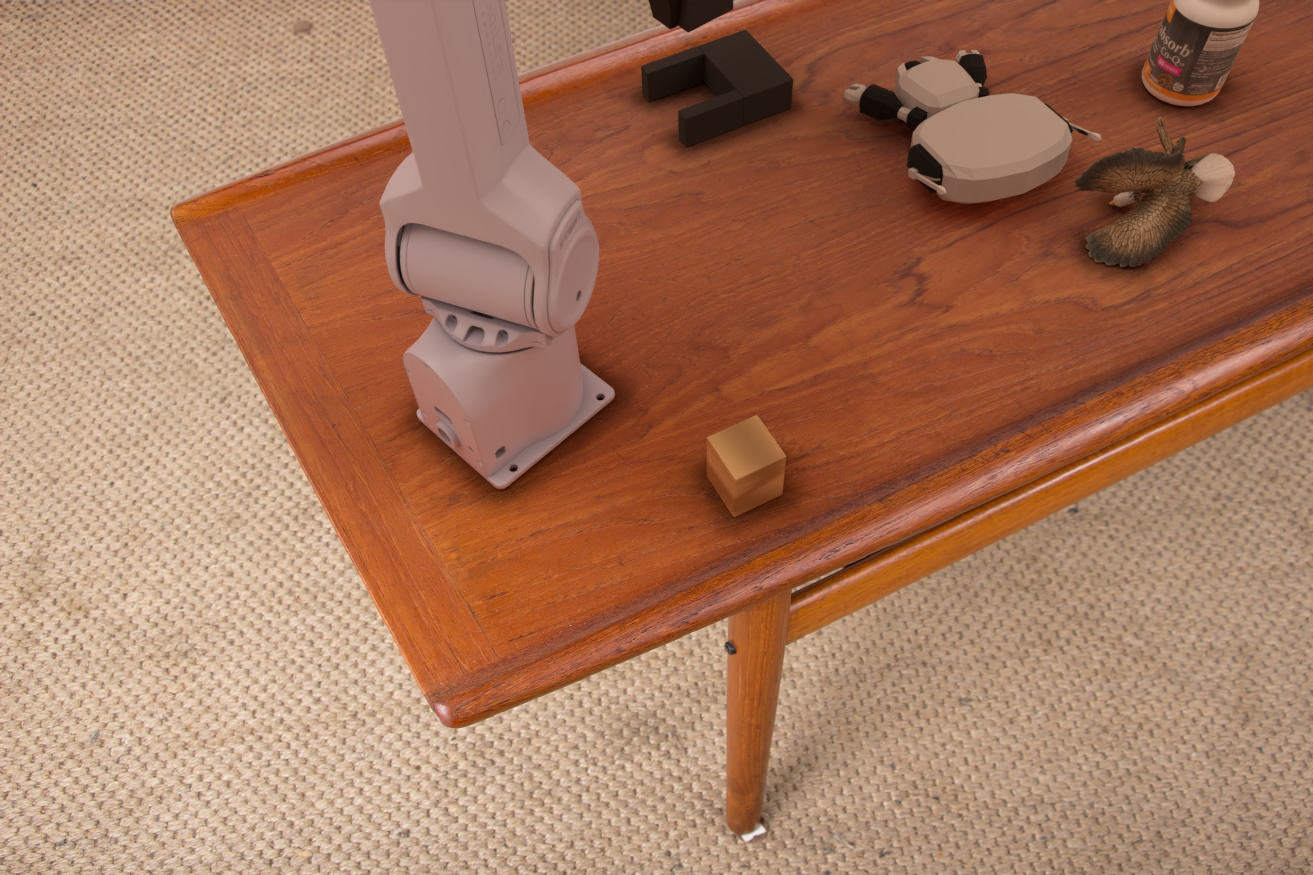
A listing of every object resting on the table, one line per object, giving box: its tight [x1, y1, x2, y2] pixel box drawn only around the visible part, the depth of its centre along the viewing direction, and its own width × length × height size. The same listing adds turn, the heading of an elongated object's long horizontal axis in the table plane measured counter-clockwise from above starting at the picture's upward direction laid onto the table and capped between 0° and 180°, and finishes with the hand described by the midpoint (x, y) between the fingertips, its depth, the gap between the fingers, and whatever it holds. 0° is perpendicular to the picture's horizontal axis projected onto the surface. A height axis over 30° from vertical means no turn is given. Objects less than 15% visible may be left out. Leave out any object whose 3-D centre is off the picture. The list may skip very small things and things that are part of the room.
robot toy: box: [843, 49, 1102, 205], centre depth 75 cm, size 12×4×15 cm
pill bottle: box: [1141, 0, 1260, 107], centre depth 76 cm, size 6×6×10 cm
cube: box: [706, 414, 787, 518], centre depth 60 cm, size 3×3×4 cm
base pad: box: [640, 28, 794, 148], centre depth 80 cm, size 9×7×3 cm
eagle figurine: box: [1073, 115, 1236, 268], centre depth 70 cm, size 8×7×9 cm
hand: (691, 8), depth 73 cm, fingers closed on small pad, 4 cm apart
